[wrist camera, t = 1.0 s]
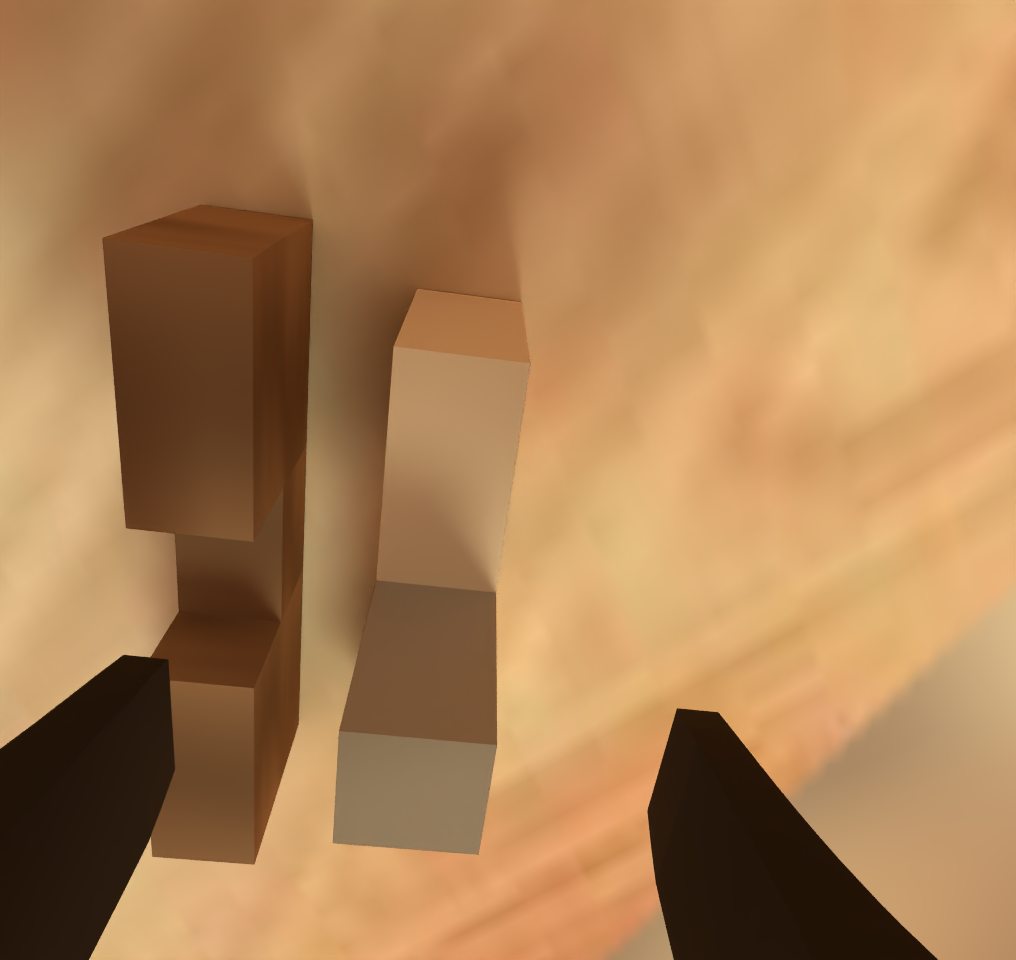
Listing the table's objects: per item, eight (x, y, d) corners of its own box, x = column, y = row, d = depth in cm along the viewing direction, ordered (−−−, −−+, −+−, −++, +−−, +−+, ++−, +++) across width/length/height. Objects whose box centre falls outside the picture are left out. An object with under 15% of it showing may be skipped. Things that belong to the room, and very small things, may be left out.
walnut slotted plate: (298, 723, 20) (254, 864, 16) (215, 716, 19) (152, 856, 16) (312, 220, 14) (253, 257, 11) (201, 205, 14) (102, 238, 11)
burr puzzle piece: (464, 707, 19) (449, 1029, 13) (382, 699, 19) (322, 1022, 12) (522, 302, 15) (544, 460, 8) (417, 288, 15) (355, 438, 8)
